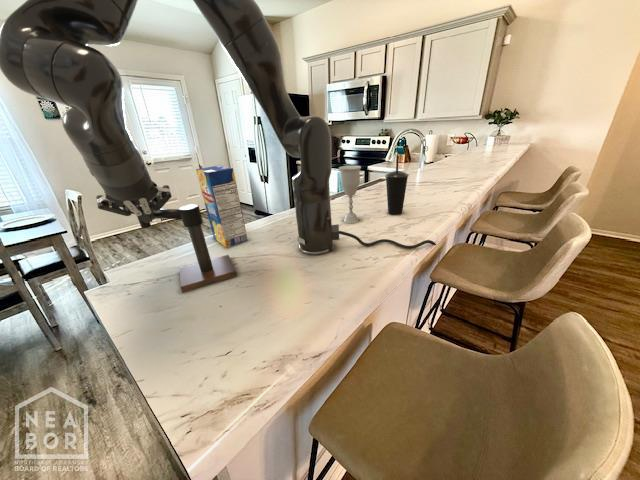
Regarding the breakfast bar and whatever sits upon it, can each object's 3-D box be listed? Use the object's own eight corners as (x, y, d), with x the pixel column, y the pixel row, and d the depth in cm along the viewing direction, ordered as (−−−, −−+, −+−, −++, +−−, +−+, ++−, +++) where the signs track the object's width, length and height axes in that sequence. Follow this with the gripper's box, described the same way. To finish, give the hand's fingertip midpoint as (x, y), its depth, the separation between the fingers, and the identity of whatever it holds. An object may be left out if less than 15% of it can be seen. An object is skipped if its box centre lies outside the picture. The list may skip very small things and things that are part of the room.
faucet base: (229, 259, 71) (218, 213, 66) (237, 276, 63) (225, 225, 57) (181, 272, 66) (164, 224, 61) (182, 292, 58) (163, 239, 53)
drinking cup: (383, 210, 98) (384, 154, 90) (404, 209, 97) (407, 153, 89) (384, 217, 92) (386, 157, 83) (407, 216, 90) (411, 156, 82)
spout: (208, 225, 61) (202, 204, 59) (196, 232, 57) (190, 210, 55) (149, 223, 65) (142, 203, 63) (135, 229, 62) (127, 209, 60)
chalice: (364, 218, 92) (364, 165, 84) (356, 225, 87) (355, 169, 79) (346, 216, 95) (344, 165, 88) (337, 222, 90) (334, 169, 83)
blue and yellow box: (226, 247, 78) (208, 172, 69) (213, 237, 86) (195, 169, 77) (248, 240, 82) (233, 168, 73) (233, 231, 90) (218, 165, 80)
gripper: (158, 146, 48) (176, 199, 63) (67, 155, 43) (110, 211, 58) (167, 179, 46) (184, 226, 61) (71, 192, 40) (115, 240, 55)
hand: (148, 219), depth 59 cm, fingers closed
